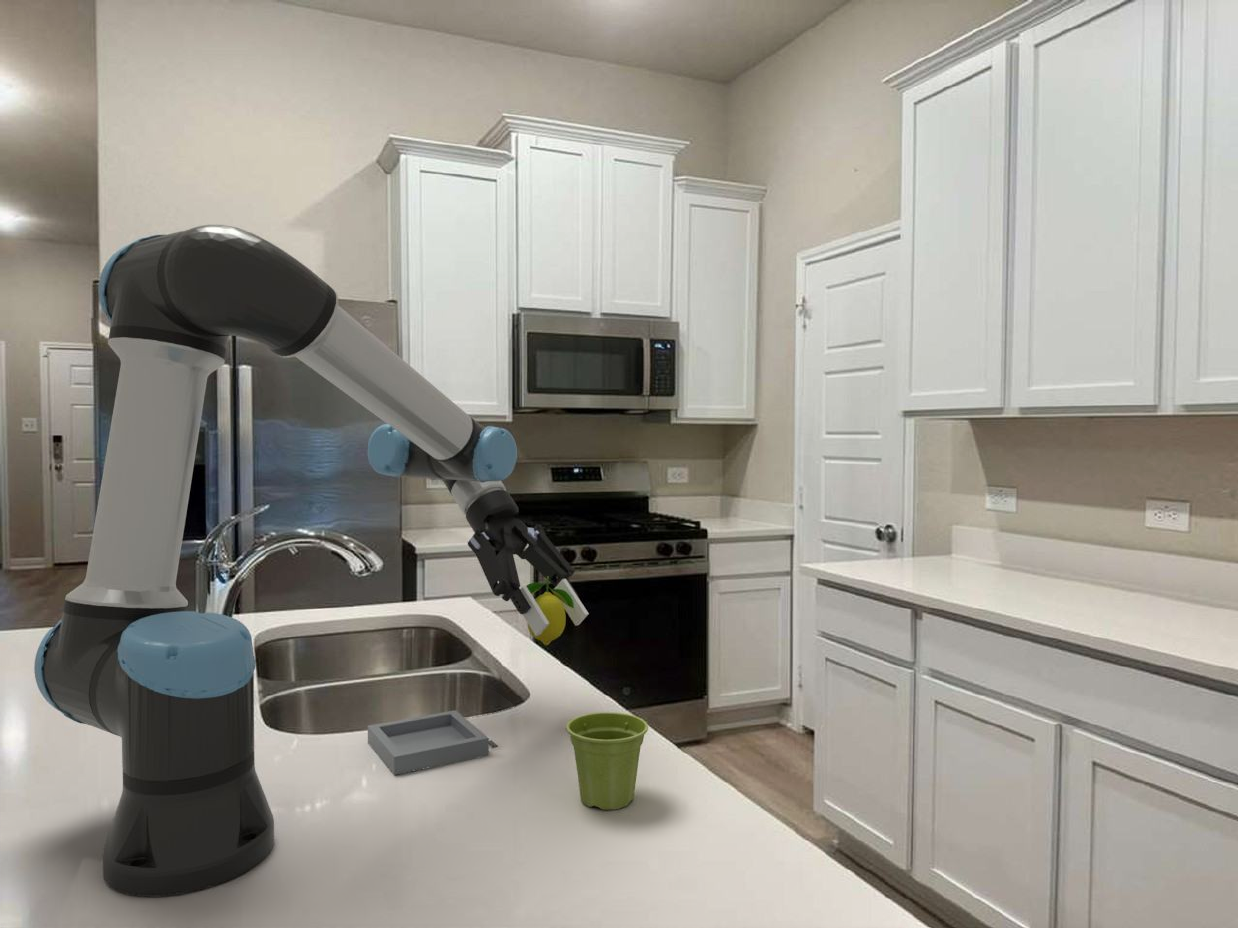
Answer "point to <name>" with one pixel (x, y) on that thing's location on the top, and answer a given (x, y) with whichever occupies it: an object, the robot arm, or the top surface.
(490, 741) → the perforation strip
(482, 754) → the dish
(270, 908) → the top surface
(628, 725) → the plant pot
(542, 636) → the lemon
